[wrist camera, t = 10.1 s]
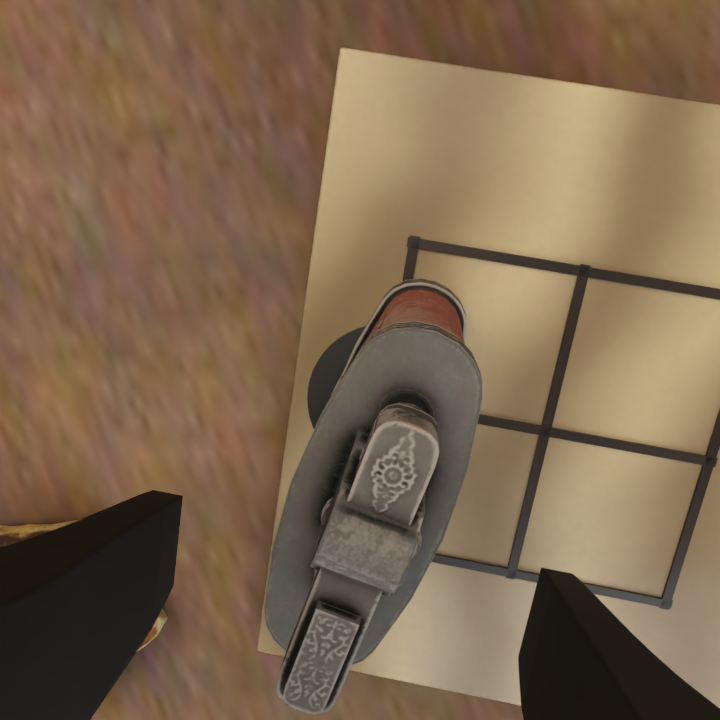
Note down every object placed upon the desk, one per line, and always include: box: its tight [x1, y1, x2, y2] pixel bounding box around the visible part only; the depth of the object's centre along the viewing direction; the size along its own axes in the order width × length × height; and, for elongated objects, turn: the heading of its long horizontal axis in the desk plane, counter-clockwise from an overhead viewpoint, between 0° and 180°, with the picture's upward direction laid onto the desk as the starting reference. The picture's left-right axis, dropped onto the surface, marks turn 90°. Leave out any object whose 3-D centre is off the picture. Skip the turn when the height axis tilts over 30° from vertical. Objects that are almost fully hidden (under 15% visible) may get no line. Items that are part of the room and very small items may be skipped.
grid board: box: [257, 48, 720, 708], centre depth 22 cm, size 16×20×1 cm
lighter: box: [264, 278, 483, 714], centre depth 17 cm, size 8×3×10 cm, turn 160°
